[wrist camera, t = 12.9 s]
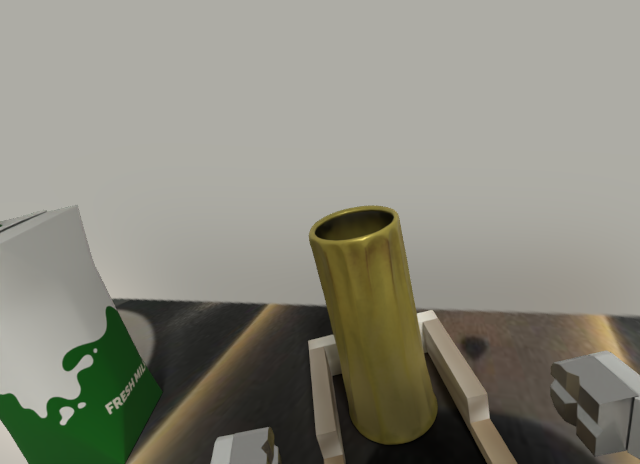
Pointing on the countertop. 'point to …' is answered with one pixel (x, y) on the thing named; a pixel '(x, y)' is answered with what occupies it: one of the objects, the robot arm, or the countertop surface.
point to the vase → (374, 322)
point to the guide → (451, 370)
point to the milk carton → (65, 348)
